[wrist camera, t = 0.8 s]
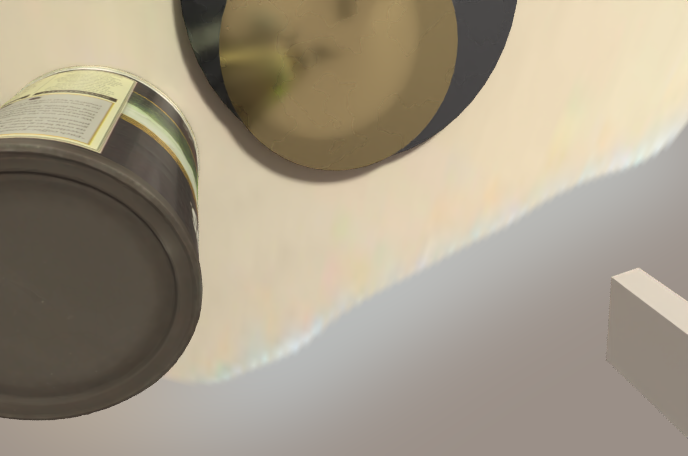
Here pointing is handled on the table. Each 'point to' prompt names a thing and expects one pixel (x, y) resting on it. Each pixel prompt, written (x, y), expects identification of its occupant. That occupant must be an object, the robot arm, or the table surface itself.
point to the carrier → (346, 70)
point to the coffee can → (94, 242)
